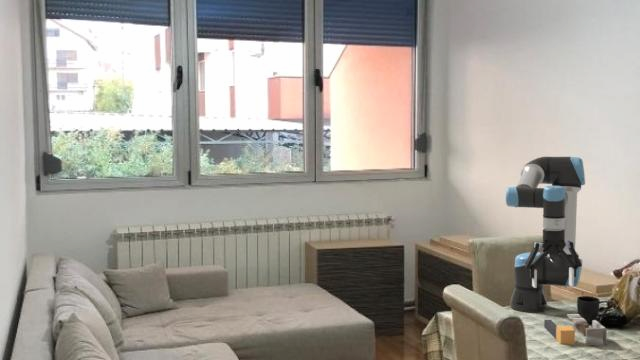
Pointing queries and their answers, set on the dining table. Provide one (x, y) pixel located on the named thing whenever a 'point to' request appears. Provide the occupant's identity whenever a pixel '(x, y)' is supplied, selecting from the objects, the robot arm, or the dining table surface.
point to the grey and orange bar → (560, 332)
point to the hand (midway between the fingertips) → (552, 286)
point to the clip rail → (589, 330)
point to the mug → (590, 308)
